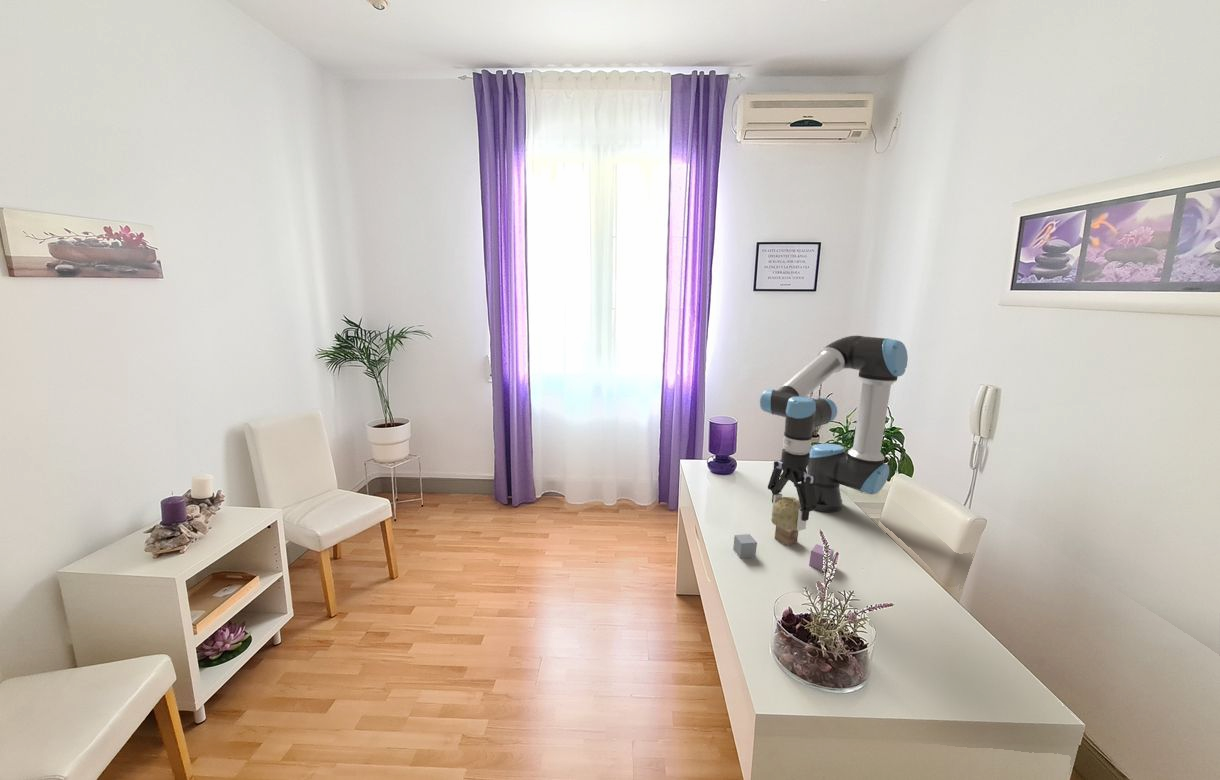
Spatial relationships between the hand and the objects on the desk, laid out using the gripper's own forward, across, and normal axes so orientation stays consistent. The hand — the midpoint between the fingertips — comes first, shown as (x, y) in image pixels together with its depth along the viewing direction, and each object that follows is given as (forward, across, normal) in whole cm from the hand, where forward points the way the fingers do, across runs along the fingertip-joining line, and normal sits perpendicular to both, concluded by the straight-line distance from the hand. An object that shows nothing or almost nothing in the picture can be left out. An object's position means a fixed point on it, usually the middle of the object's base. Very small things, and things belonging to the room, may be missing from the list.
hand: (788, 521), depth 147 cm
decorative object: (+1, 0, 0) cm, 1 cm away
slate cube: (+12, -7, -10) cm, 17 cm away
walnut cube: (+12, -8, +8) cm, 17 cm away
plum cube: (+12, +7, +7) cm, 16 cm away
